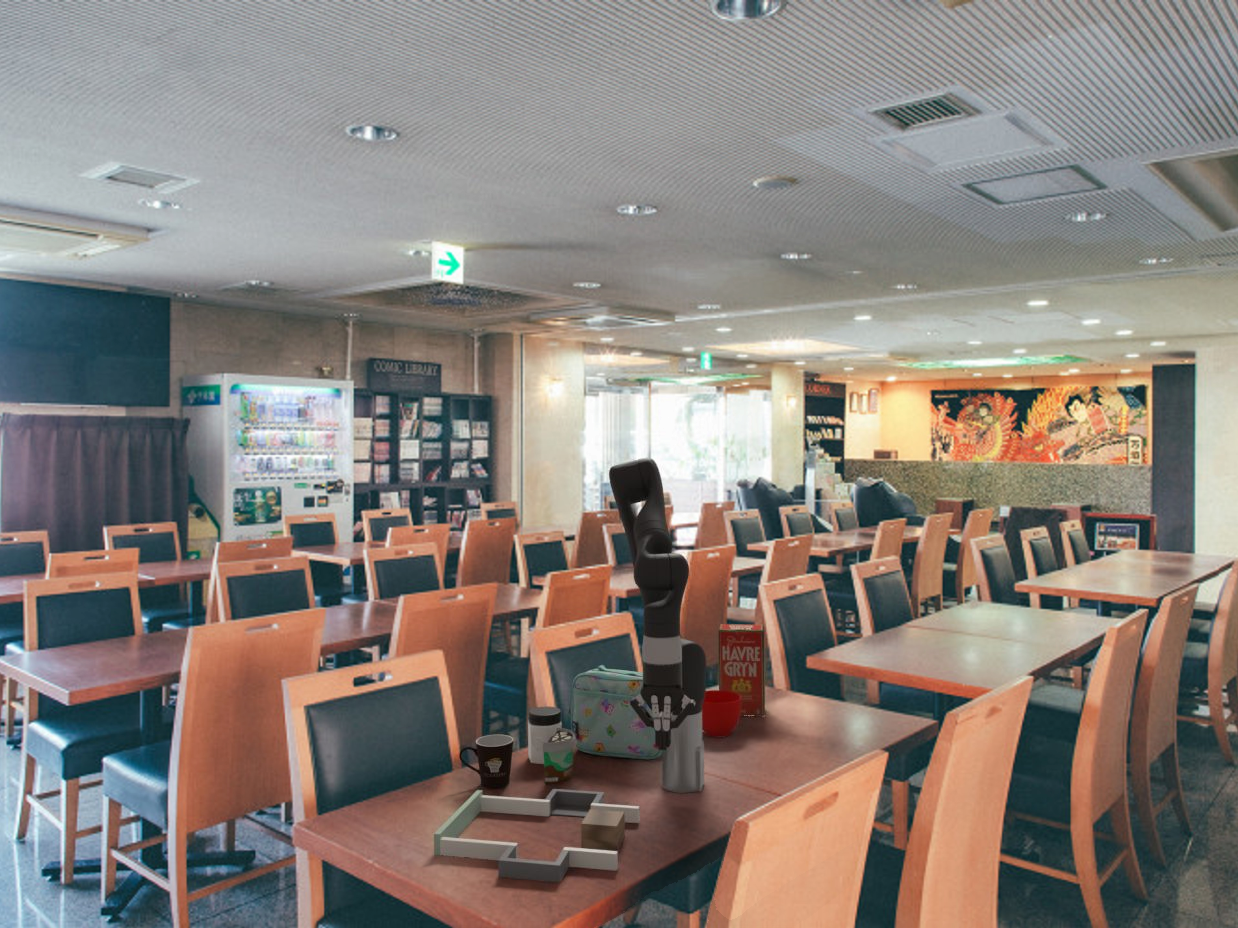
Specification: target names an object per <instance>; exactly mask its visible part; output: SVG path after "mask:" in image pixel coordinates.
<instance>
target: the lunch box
mask: <svg viewBox="0 0 1238 928" xmlns="http://www.w3.org/2000/svg"><path fill="white" fill-rule="evenodd" d="M642 686H643V671H642V672H640V671H631V670H626V669H625V670H623V669H613V668H612V669H611V668H606V667H605V665H603V664H601V665H598V666H597V668H594V669H590V670H587V671H585V672H581V673H579V674H577V675H576V676H575V677H574V678H573V681H572V683H571V701H570V705H569V707H568V711H567V714H569V715H570V730H571V731H572V732H573V733H574V735H575V738H576V742H577V743H576V745H575V746H574V747H575V748H577V750H578V751H581V752H583V753H587V754H590V755H594V756H595V755H596V756H602V757H612V758H613V757H614V758H625V759H626V758H627V759H634V760H652V759H657V758H659V757H660V756H662V750H659V747H656V744H655V729H654V728H652V727H647V726H646V725H645V724H644V722H643V721H642V720H641V718H640V717H639V716H638V714H637V713H636V712H635V710H634V709H633V708H632V706H631V705H630V701H631V700H632V699H633V698H634V697H636V696H638V695H639V694H640V691H641V689H642ZM643 701H644V699H643ZM643 706H644V707H645V708H646V710H647V711H648V712H649V714H650V715H651V716H652V718H653V711H652V710H651V709H650V708H649V706H648V705H647V704H646V702H645V701H644V705H643Z"/></svg>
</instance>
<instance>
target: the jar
mask: <svg viewBox="0 0 1238 928" xmlns="http://www.w3.org/2000/svg"><path fill="white" fill-rule="evenodd" d="M561 710H562V709H560V708H558V707H556V706H538V707H533V708H530V709H529V710H528V713H527V714H528V717H527V719H528V720H527V725H528V726H527V727H528V728H527V729H528V730H527V736H528V737H527V738H528V741H527V743H528V759H529V761H530V763H531V764H537V765H544V752H543V742H546V743H547V742H548V741H549V739H550V738H551V737H552V736H553V735H555V733H556V730H557V728H563V724H562V711H561Z"/></svg>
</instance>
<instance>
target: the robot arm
mask: <svg viewBox="0 0 1238 928" xmlns="http://www.w3.org/2000/svg"><path fill="white" fill-rule="evenodd" d="M608 479H609V484H610V488H611V491H612V494H613V497H614V501H615V504H616V505H615V506H616V507H617V511H618V514H619V516H620V519H621V522H622V523H621V524H622V527H623V530H624V532H625V536H626V539H627V544H628V545H627V546H628V549H629V554H630V558H631V562H632V567H633V581H634V582H635V584H636V587H638V589H639V593H640V596H641V600H642V604H643V611H642V612H643V615H642V616H643V618H642V619H643V640H642V651H641V658H642V673H643V686H642V689H641V691H640V694H639V695H638V696H636V697H634V698H633V699H632V700H631V701H630V705H631V706H632V708H633V709H634V710H635V712H636V713H637V714H638V716H639V717H640V718H641V720H642V721H643V722H644V724H645V725H646V726H647V727H652V728H654V729H655V744H656V747H659V750H662V754H661V784H662V788H663V789H665V790H667V791H669V792H672V793H681V794H683V793H685V794H689V793H693V792H702V791H703V787H704V783H705V743H704V740H703V730H702V703H703V700H704V698H705V693H706V691H707V686H706V685H707V658H706V657H707V656H706V652H705V651H704V648H703V646H701V645H700V644H699V643H697V642H695V641H692V640H690V639H689V640H688V639H685V638H683V637H682V634H681V610H682V603H683V598H684V595H685V592H686V587H687V584H688V581H689V576H690V566H689V563H688V562H689V561H687V558H685V556H683V555H682V554H681V553H672V552H673V541H672V539H671V538H672V537H671V534H670V530H669V527H668V524H667V523H668V522H667V516H666V505H665V495H664V488H663V487H664V486H663V481H662V475H661V473H660V470H659V466H658V465H657V463H656V461H655V460H654V459H653V458H652V457H643V458H639V459H635V460H631V461H627V462H623V463H619V464H615V465H613V466H611V467H610V469H609V471H608ZM641 502H645V503H644V504H643V506H642V507H641V508H640V510H639V512H638V514H636V513H635V510H634V509H633V506H632V505H634V504H638V503H641ZM643 699H644V701H645V702H646V704H647V705H648V706H649V708H650V709H651V710H652V711H653V718H652V716H651V715H650V714H649V712H648V711H647V710H646V708H645V707H644V706H643V705H644V701H643Z"/></svg>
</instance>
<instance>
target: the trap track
mask: <svg viewBox="0 0 1238 928" xmlns="http://www.w3.org/2000/svg"><path fill="white" fill-rule="evenodd" d="M590 809H592V810H606V811H620V812H624V817H625V823H631V824H639V823H640V805H628V804H627V805H626V804H624V805H623V804H612V803H609V804H608V803H605V792H604V791H594V790H593V791H590V790H574V789H561V788H559V789H558V788H552V789H551V791H550V792H549V793H548V795H547V796H546V798H544V799H543V798H541V799H540V798H528V797H512V796H499V795H498V796H497V795H484V794H483V790H482V789H481V790H480V789H477V790H475V792H474V793H473V794H472V795H471V796H470V797H469V798H468V799H467V800H466V801H465V802H464V803H463V804H462V805H461V806H460V807H458V809H456V811H455V812H454V813H453V814H452V815H450V817H449V818H448V819H447V820H446V821H445V822H444V823H443V824H442V825H440V827H439V828H438V829H437V830H436V831H435V832H434V833H433V855H434V856H441V855H444V856H445V857H453V856H455V858H464V857H470V858H469V859H476V858H477V860H478V859H480V860H487V859H488V860H489V861H497V864H498V866H497V867H498V869H497V870H498V871H497V872H498V876H499V877H498V878H505V877H507V878H508V879H517V880H530V881H539V882H540V881H541V882H550V883H561V881H562V880H563V878H564V877H565V875H566V873H567V871H568V870H569V868H570V867H571V868H580V869H581V868H582V869H583V868H584V869H593V870H594V869H595V870H604V871H605V870H606V871H614V872H615V871H618V868H619V858H618V857H619V856H618V853H619V850H618V851H608V850H596V849H584V848H581V847H571V846H564V847H563V848H562V850H561V851H560V854H559V855H558V856H557V858H556V860H555V861H551V860H550V861H548V860H535V859H525V858H519V844H518V842H511V841H510V842H509V841H497V840H486V839H485V840H484V839H474V838H473V839H472V838H460V837H459V836H460V835H461V834H462V832H464V830H465V829H466V828H467V827H468V826H469V825H470V824H471V823H472V822H473V821H474V820H475V818H476V817H477V816H478V815H479V814H480V813H481V812H484V813H496V814H497V813H499V814H510V815H511V814H512V815H526V816H537V817H550V816H551V815H552V816H564V817H577V818H585V817H586V815H587V813H588V812H589V810H590ZM549 815H550V816H549ZM458 837H459V838H458ZM446 855H447V856H446ZM444 856H443V857H444ZM457 856H458V857H457ZM507 878H506V879H507Z"/></svg>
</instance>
